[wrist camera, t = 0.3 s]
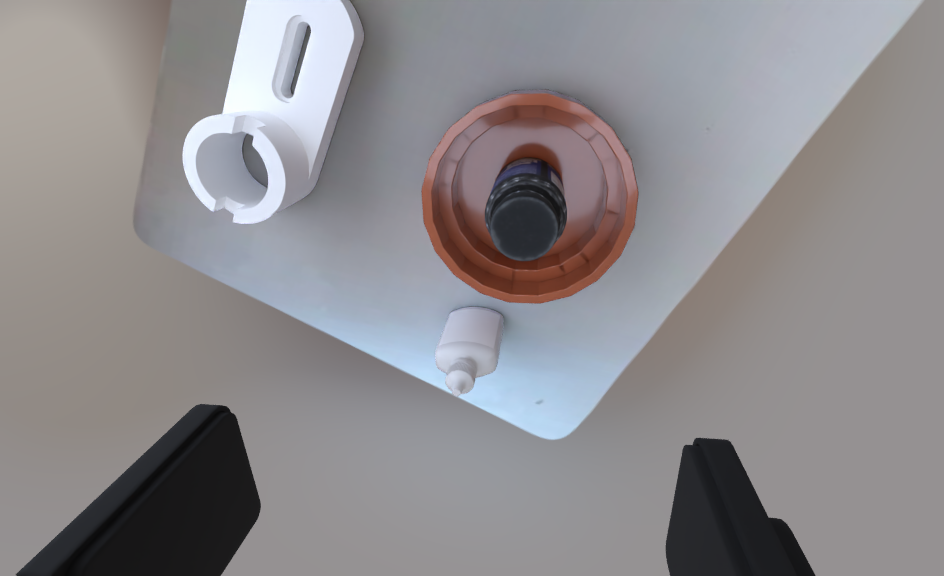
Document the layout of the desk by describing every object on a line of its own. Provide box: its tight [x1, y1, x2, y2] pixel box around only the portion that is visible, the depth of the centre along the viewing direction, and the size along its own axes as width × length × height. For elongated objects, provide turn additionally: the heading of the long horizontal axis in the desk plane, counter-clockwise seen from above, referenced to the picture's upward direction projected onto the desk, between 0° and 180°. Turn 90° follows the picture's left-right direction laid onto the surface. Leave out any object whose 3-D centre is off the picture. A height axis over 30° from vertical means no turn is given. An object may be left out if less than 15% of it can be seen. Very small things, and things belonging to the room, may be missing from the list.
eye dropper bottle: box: [435, 307, 503, 396], centre depth 44 cm, size 4×6×12 cm
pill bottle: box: [485, 157, 567, 261], centre depth 38 cm, size 6×6×11 cm
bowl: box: [422, 89, 638, 303], centre depth 40 cm, size 17×17×6 cm
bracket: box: [183, 0, 364, 224], centre depth 40 cm, size 20×9×7 cm, turn 154°
